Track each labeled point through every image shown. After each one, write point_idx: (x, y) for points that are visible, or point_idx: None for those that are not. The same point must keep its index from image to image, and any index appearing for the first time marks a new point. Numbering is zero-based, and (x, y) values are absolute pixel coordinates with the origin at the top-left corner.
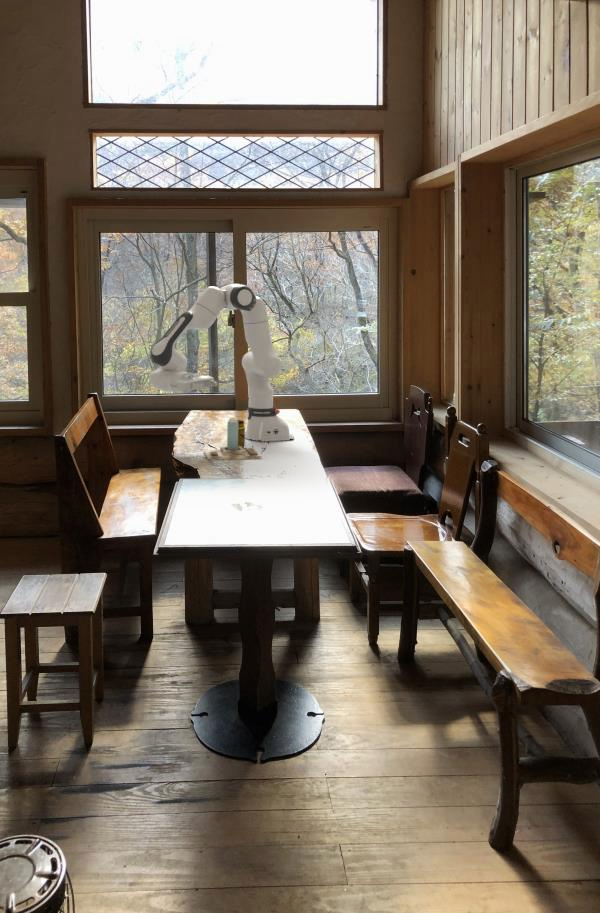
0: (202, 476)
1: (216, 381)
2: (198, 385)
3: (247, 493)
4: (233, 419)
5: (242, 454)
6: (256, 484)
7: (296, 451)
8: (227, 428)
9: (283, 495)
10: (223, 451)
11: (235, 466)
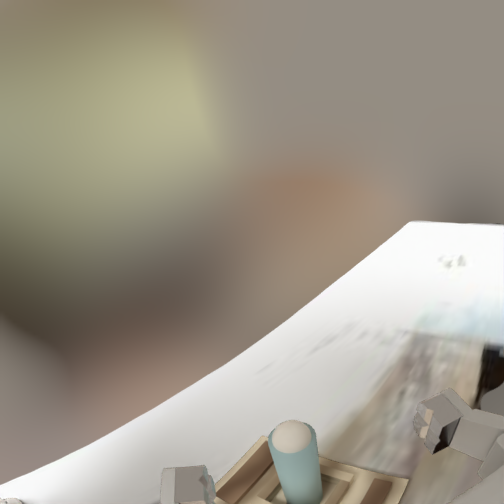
0: (477, 354)
1: (165, 472)
2: (466, 414)
3: (437, 285)
4: (297, 421)
5: None
6: (408, 308)
7: (131, 445)
8: (314, 461)
9: (399, 276)
10: (353, 476)
11: (379, 403)
